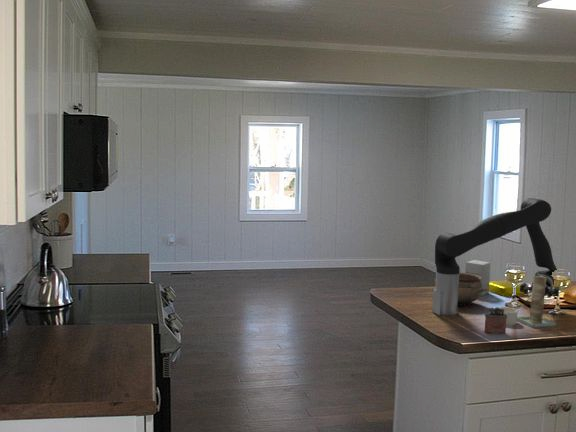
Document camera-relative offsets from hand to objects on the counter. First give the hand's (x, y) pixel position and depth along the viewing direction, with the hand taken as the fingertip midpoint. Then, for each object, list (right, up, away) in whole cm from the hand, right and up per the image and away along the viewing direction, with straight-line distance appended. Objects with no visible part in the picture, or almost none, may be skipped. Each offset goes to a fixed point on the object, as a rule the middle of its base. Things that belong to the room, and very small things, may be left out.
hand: (537, 293), depth 250 cm
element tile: (+8, -7, +58) cm, 59 cm away
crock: (-11, -12, +4) cm, 17 cm away
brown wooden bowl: (-21, -9, +34) cm, 41 cm away
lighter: (-20, -14, -11) cm, 27 cm away
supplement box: (-8, -7, +55) cm, 56 cm away
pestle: (+1, -12, +3) cm, 12 cm away
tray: (+1, -13, +3) cm, 13 cm away
